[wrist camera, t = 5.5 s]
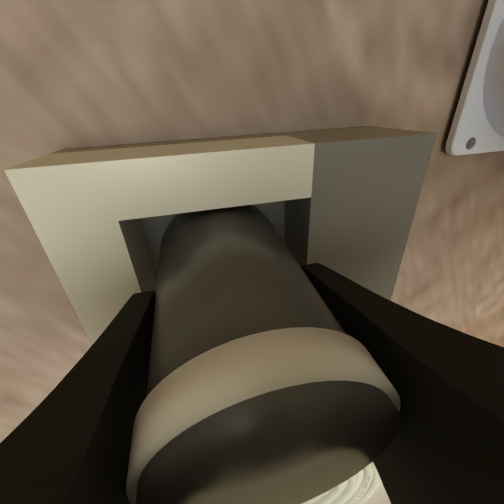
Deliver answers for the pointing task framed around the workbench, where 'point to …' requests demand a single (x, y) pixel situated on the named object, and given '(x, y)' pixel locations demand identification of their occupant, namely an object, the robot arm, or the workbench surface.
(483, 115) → the robot arm
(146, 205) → the hollow square frame
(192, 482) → the knob
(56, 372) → the workbench surface
